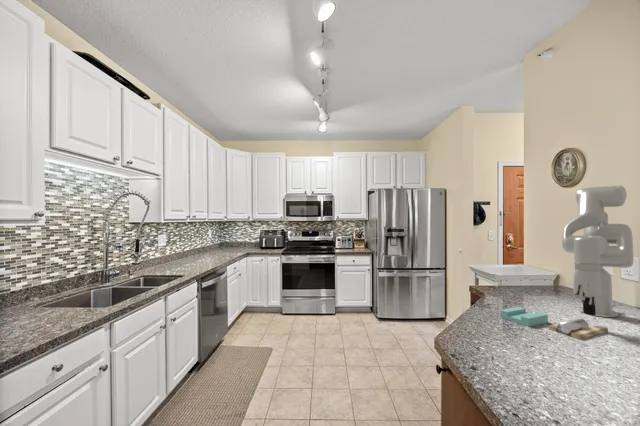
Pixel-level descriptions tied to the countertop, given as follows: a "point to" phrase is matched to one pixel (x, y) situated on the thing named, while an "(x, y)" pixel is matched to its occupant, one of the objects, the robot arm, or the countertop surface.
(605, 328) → the wooden grooved block
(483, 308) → the countertop surface
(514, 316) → the cradle
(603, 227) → the robot arm
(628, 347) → the countertop surface
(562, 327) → the axle
